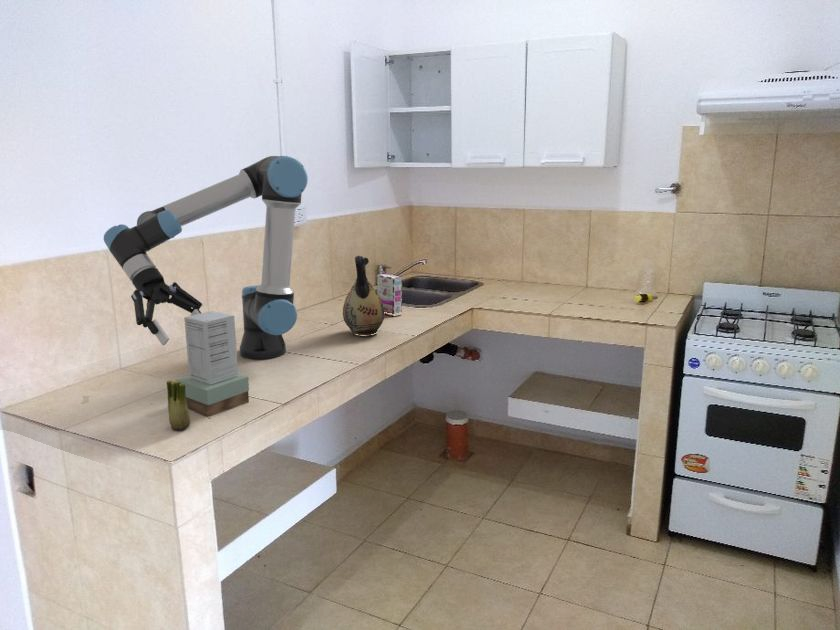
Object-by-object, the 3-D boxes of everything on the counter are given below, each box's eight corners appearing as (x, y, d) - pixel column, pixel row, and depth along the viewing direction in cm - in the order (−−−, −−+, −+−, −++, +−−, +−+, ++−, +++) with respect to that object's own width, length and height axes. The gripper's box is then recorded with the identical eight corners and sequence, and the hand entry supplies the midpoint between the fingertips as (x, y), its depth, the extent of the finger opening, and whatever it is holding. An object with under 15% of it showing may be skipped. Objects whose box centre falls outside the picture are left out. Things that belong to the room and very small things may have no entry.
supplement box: (239, 376, 173) (236, 315, 169) (210, 385, 166) (205, 322, 162) (217, 369, 178) (213, 309, 174) (188, 378, 171) (183, 316, 167)
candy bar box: (402, 315, 271) (402, 276, 267) (393, 317, 268) (393, 278, 264) (385, 310, 279) (385, 273, 275) (376, 312, 276) (376, 274, 272)
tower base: (219, 393, 182) (218, 380, 181) (249, 404, 175) (248, 390, 174) (178, 407, 172) (177, 393, 171) (207, 419, 165) (206, 405, 164)
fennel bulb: (167, 426, 159) (163, 379, 156) (187, 421, 162) (184, 376, 159) (173, 434, 154) (169, 386, 151) (194, 429, 157) (190, 382, 154)
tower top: (218, 380, 181) (217, 367, 180) (248, 390, 174) (248, 376, 173) (177, 393, 171) (176, 379, 170) (208, 405, 164) (207, 390, 163)
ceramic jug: (346, 328, 250) (345, 251, 243) (386, 329, 250) (386, 251, 242) (339, 340, 234) (337, 258, 226) (382, 341, 233) (381, 258, 226)
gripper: (175, 276, 189) (215, 333, 185) (97, 291, 167) (141, 356, 164) (186, 260, 185) (228, 318, 182) (108, 273, 164) (153, 339, 160)
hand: (186, 336), depth 173 cm, fingers open, 13 cm apart
